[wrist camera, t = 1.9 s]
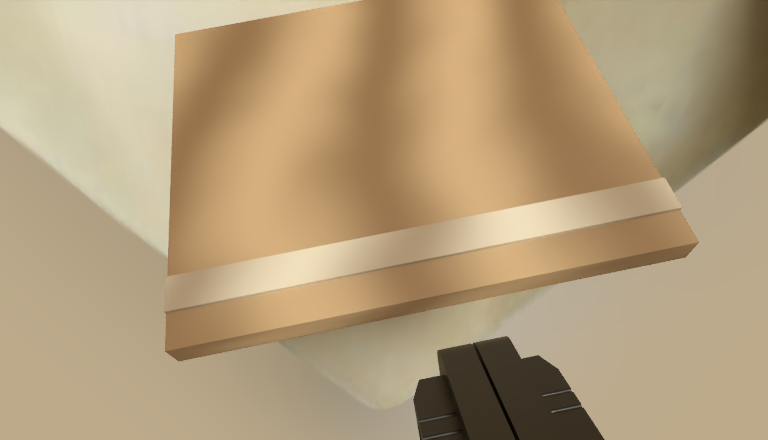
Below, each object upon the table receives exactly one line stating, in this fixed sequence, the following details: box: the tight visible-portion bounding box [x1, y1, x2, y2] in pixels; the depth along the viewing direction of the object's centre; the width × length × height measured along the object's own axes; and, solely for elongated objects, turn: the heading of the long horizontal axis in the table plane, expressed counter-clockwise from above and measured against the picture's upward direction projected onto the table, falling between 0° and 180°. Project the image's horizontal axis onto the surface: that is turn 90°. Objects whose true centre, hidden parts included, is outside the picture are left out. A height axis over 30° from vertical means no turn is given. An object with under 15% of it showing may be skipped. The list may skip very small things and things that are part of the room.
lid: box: [164, 0, 698, 361], centre depth 20 cm, size 16×14×1 cm
